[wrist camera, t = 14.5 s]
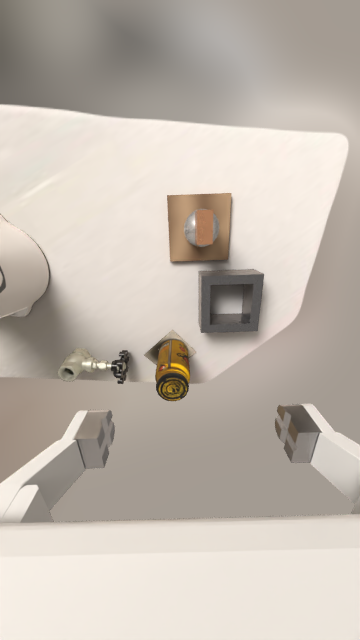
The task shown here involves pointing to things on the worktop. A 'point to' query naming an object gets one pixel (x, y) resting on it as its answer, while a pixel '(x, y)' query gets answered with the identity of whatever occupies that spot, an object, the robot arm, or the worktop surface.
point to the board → (179, 213)
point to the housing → (249, 307)
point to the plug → (201, 227)
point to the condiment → (171, 366)
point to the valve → (91, 365)
